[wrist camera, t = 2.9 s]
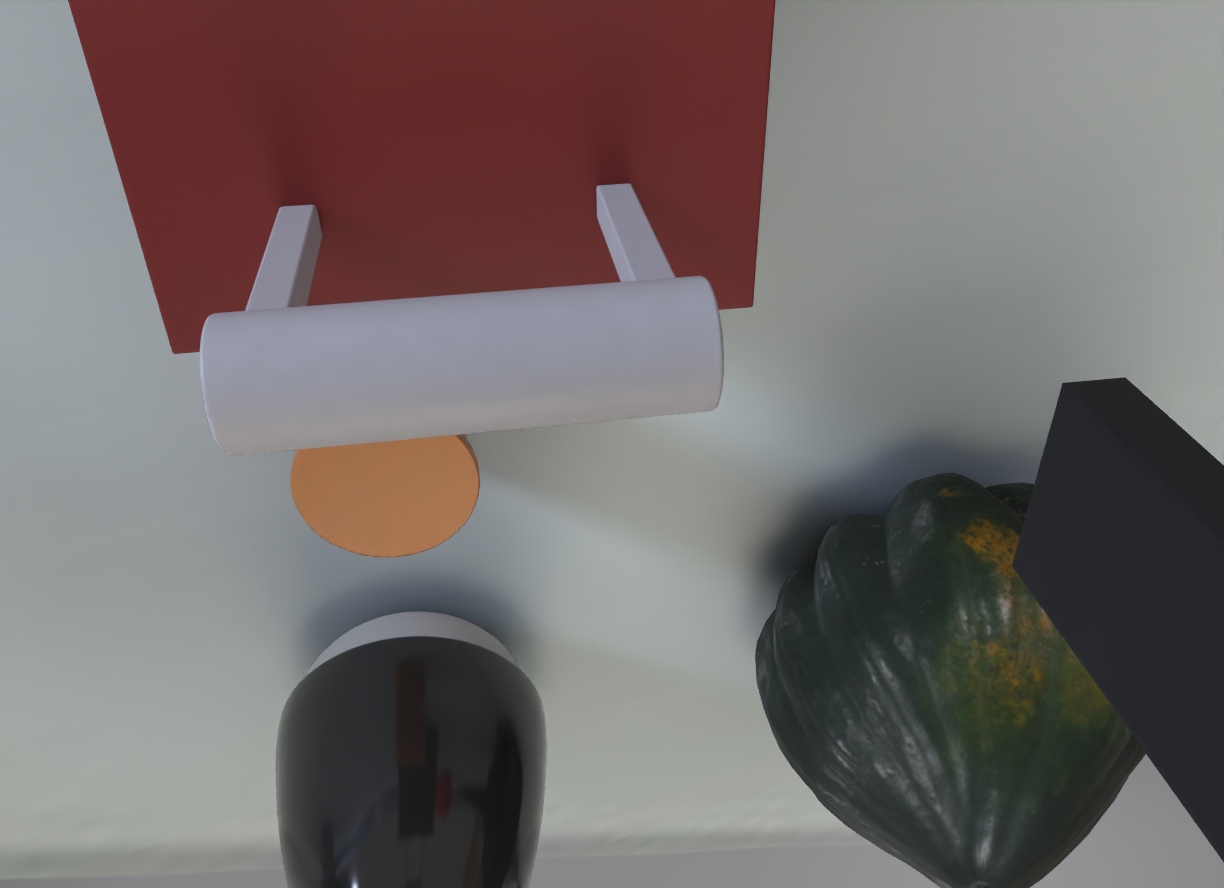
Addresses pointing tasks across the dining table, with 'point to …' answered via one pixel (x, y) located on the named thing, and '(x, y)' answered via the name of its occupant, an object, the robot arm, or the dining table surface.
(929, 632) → the squash
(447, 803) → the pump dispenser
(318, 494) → the orange tapered cylinder
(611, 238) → the lid
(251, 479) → the dining table surface
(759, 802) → the dining table surface
